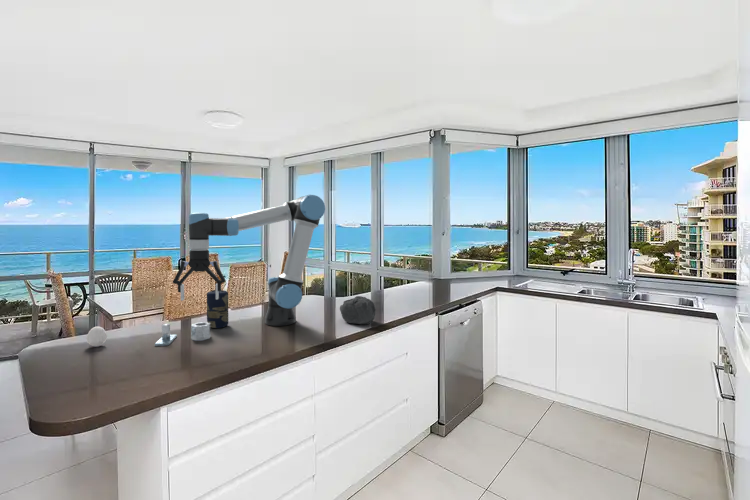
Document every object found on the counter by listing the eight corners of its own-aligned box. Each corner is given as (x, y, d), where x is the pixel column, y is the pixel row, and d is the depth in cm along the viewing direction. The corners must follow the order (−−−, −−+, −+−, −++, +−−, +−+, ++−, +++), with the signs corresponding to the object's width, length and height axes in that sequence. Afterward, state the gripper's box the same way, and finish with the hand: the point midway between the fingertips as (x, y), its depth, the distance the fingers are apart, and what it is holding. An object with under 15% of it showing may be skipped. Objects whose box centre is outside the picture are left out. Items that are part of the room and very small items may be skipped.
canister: (220, 330, 173) (220, 291, 172) (202, 328, 175) (202, 290, 174) (232, 324, 183) (232, 288, 182) (215, 323, 185) (214, 287, 183)
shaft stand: (176, 336, 162) (176, 320, 161) (168, 345, 150) (168, 328, 150) (163, 337, 161) (163, 321, 160) (154, 346, 149) (154, 328, 149)
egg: (89, 344, 149) (89, 325, 149) (109, 343, 152) (108, 323, 151) (84, 349, 143) (84, 329, 143) (104, 347, 146) (104, 327, 145)
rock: (332, 298, 192) (353, 289, 202) (336, 323, 195) (356, 313, 206) (361, 306, 177) (382, 295, 188) (365, 333, 180) (385, 321, 191)
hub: (211, 335, 165) (211, 321, 164) (208, 340, 158) (208, 326, 158) (194, 336, 163) (193, 322, 163) (190, 341, 156) (190, 326, 156)
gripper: (231, 249, 165) (232, 296, 166) (169, 249, 159) (170, 298, 160) (229, 250, 158) (230, 300, 159) (163, 250, 152) (165, 302, 153)
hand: (200, 299), depth 160 cm, fingers open, 13 cm apart
